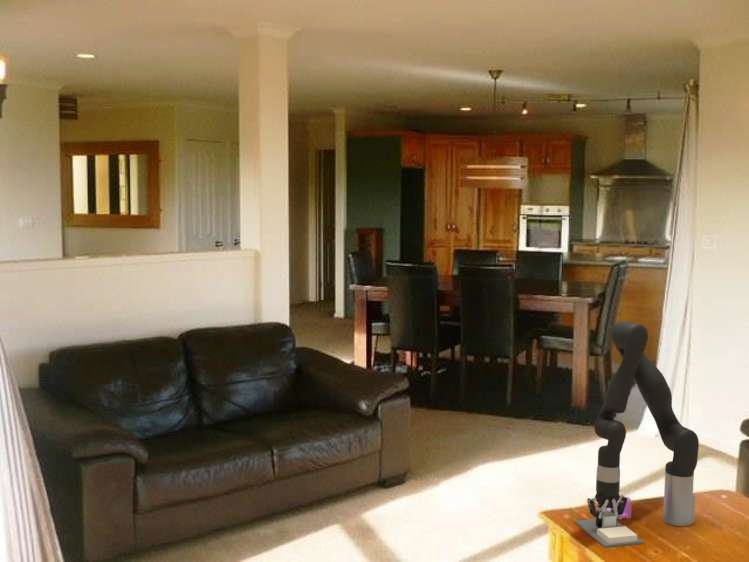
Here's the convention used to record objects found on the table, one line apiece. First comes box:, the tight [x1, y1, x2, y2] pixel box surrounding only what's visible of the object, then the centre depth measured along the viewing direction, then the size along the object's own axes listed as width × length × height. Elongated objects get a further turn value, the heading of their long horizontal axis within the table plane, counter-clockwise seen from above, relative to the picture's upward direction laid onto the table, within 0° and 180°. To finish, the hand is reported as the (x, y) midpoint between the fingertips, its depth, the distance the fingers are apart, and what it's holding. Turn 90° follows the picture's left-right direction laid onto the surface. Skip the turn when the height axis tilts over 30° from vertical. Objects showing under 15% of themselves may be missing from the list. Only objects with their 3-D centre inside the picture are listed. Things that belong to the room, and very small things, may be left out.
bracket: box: [601, 496, 632, 520], centre depth 302 cm, size 13×6×7 cm, turn 17°
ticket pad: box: [574, 518, 645, 548], centre depth 284 cm, size 14×21×3 cm, turn 14°
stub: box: [602, 510, 618, 528], centre depth 285 cm, size 4×5×6 cm
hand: (606, 527), depth 285 cm, fingers closed on stub, 4 cm apart
